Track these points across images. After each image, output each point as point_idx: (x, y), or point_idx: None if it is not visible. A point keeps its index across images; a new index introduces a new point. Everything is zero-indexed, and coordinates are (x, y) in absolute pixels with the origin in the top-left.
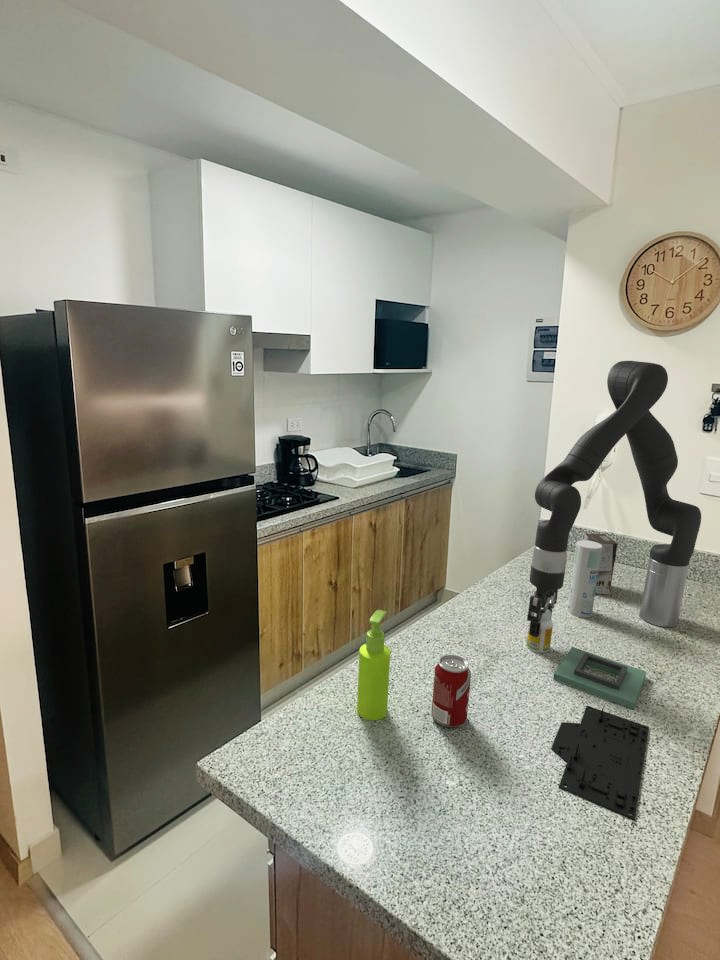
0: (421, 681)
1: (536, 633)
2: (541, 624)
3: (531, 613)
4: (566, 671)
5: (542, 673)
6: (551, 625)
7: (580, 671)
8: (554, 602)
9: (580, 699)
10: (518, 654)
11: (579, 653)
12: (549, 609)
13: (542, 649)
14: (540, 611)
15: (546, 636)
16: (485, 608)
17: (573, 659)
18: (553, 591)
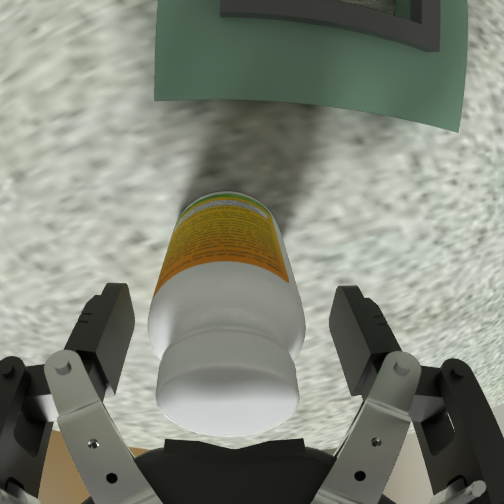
0: (495, 361)
1: (371, 306)
2: (300, 330)
3: (426, 436)
4: (425, 83)
5: (421, 169)
6: (242, 276)
7: (434, 25)
8: (86, 417)
9: (491, 37)
10: (331, 279)
11: (204, 46)
12: (98, 363)
13: (273, 218)
14: (472, 434)
15: (274, 247)
16: (111, 412)
17: (296, 59)
18: (9, 468)
